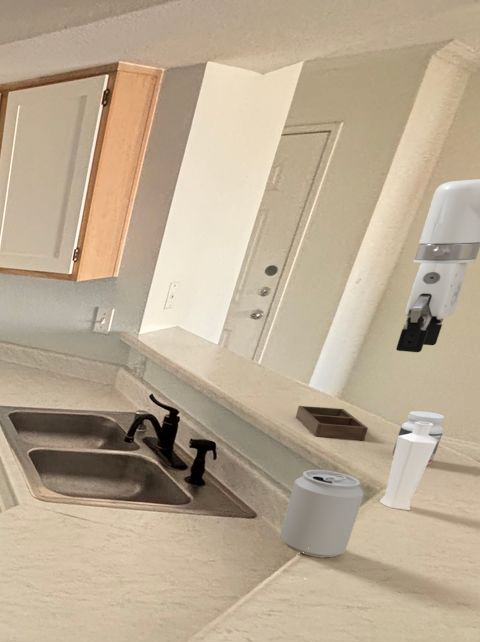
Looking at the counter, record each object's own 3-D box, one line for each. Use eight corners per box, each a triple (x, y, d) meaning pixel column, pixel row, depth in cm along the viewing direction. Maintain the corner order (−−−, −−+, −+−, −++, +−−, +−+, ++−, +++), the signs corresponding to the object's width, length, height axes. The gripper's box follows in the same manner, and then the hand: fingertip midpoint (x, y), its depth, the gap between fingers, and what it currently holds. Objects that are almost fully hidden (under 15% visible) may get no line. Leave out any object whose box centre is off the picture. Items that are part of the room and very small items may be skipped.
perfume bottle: (423, 511, 99) (454, 427, 94) (393, 510, 100) (422, 427, 95) (400, 499, 103) (429, 419, 98) (371, 499, 104) (398, 419, 99)
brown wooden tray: (339, 420, 144) (343, 408, 143) (364, 440, 131) (368, 427, 130) (295, 417, 148) (298, 405, 147) (314, 436, 135) (318, 423, 134)
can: (267, 535, 94) (286, 466, 90) (322, 537, 93) (343, 467, 89) (297, 558, 87) (319, 485, 83) (356, 562, 86) (381, 487, 82)
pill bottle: (391, 453, 123) (406, 408, 120) (431, 460, 119) (448, 413, 116) (390, 461, 119) (405, 414, 116) (431, 468, 115) (448, 420, 112)
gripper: (465, 256, 99) (431, 356, 104) (488, 251, 107) (456, 344, 113) (402, 256, 105) (373, 351, 110) (429, 251, 113) (401, 339, 119)
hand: (415, 347), depth 111 cm, fingers open, 9 cm apart
